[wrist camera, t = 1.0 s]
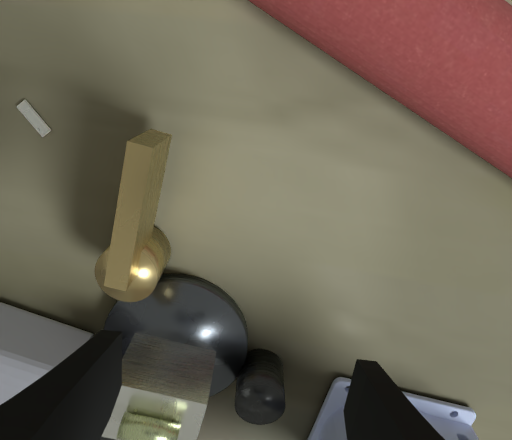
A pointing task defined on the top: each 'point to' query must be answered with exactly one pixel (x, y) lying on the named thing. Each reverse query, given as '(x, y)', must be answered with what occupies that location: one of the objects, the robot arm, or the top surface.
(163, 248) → the brass knob
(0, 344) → the charger
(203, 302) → the base
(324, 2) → the blood vessel
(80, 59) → the top surface
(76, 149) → the top surface
